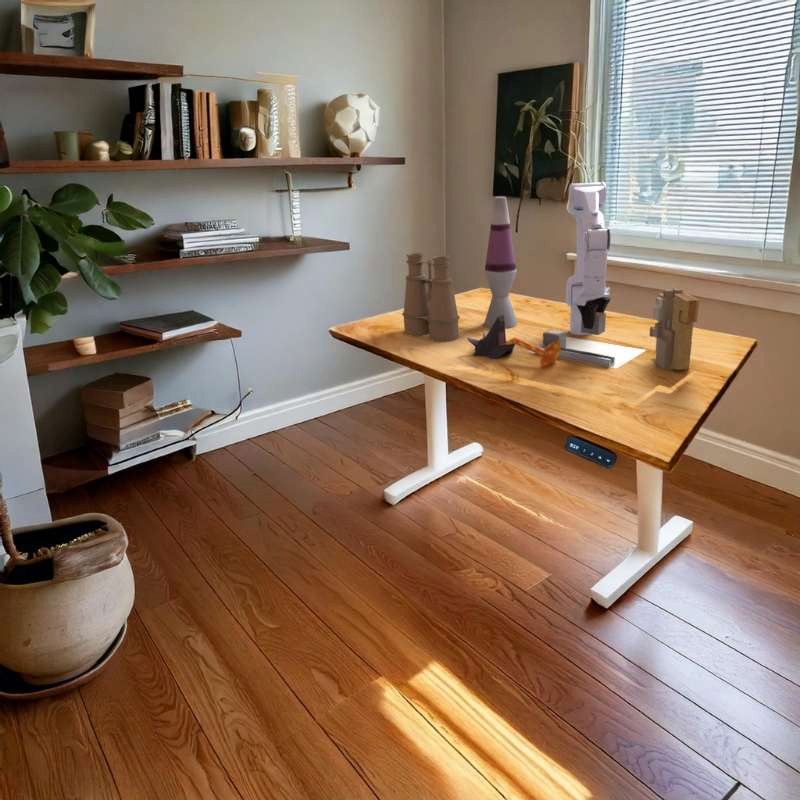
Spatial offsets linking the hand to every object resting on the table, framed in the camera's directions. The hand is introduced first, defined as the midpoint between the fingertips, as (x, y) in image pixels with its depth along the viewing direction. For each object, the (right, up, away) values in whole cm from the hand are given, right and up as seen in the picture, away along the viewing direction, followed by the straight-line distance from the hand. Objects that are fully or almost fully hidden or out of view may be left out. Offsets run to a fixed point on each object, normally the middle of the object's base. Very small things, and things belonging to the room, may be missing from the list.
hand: (592, 326), depth 184 cm
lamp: (-19, +5, +39) cm, 44 cm away
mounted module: (-8, -6, +8) cm, 13 cm away
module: (0, -2, 0) cm, 2 cm away
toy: (+18, -12, -8) cm, 23 cm away
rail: (-5, -9, 0) cm, 10 cm away
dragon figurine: (-21, -10, +4) cm, 23 cm away
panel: (0, -7, +6) cm, 9 cm away
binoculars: (-42, +1, +33) cm, 53 cm away
